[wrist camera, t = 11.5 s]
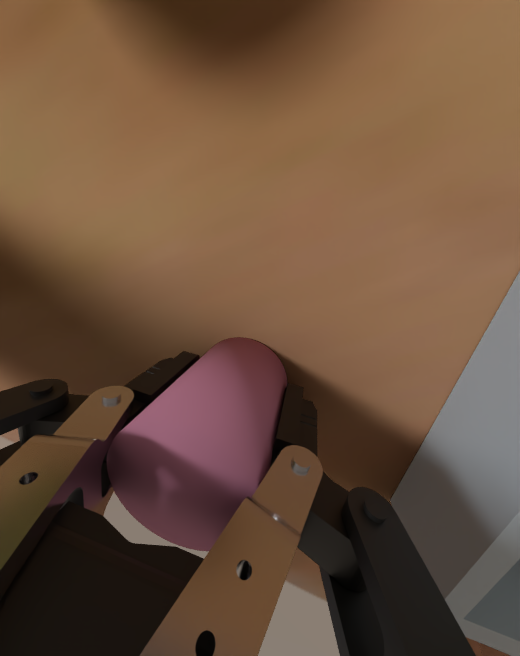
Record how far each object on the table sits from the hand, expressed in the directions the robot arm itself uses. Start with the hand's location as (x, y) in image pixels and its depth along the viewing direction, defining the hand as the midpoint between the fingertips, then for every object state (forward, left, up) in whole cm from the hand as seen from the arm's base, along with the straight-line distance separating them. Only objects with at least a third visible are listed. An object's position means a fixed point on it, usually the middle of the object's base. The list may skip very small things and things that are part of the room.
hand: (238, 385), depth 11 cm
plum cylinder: (0, 0, -1) cm, 1 cm away
